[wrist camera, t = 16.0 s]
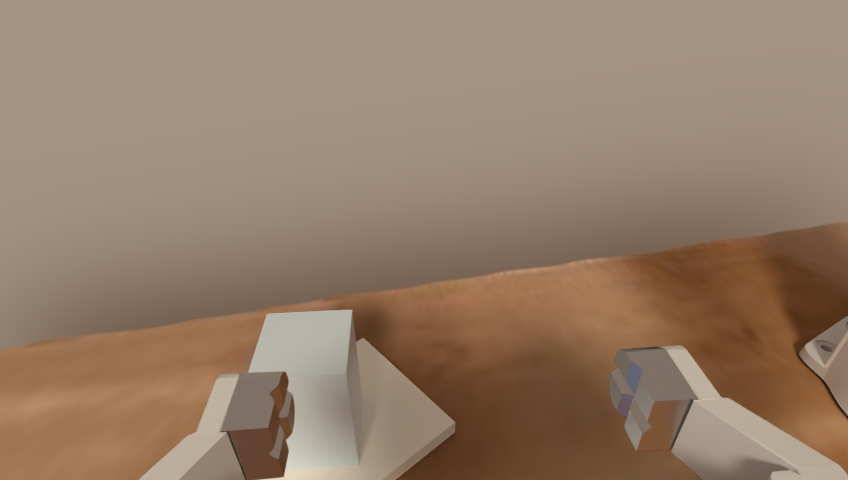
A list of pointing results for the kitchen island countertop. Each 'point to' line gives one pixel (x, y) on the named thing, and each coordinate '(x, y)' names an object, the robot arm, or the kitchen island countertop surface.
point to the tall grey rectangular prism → (316, 384)
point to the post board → (387, 424)
